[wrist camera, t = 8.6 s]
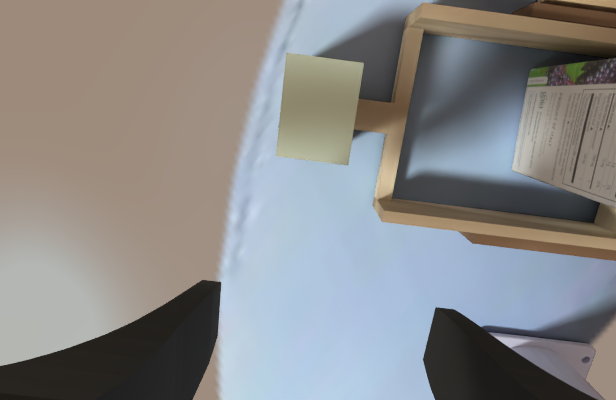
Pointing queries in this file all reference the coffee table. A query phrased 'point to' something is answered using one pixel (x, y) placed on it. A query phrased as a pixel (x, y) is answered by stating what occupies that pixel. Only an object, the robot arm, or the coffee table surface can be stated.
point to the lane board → (572, 17)
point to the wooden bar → (585, 4)
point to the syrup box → (571, 129)
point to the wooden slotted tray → (392, 116)
